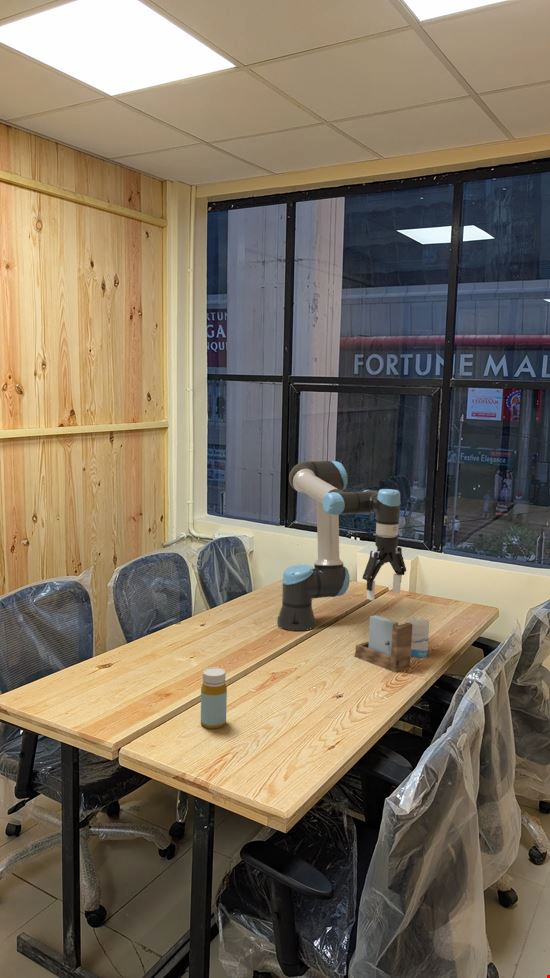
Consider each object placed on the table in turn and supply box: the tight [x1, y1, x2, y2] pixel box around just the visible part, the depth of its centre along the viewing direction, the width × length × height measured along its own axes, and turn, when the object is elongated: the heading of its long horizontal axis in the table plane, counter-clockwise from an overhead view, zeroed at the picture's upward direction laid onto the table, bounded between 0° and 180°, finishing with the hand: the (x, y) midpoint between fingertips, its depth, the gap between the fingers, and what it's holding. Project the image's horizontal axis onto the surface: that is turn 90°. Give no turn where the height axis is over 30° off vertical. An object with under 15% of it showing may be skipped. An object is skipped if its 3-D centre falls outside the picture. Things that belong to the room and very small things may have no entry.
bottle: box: [200, 666, 228, 730], centre depth 194 cm, size 7×7×15 cm
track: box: [354, 622, 412, 673], centre depth 243 cm, size 18×8×15 cm, turn 42°
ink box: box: [404, 617, 430, 658], centre depth 253 cm, size 9×8×12 cm
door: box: [368, 614, 399, 656], centre depth 242 cm, size 10×4×14 cm, turn 42°
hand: (383, 596), depth 242 cm, fingers open, 13 cm apart
